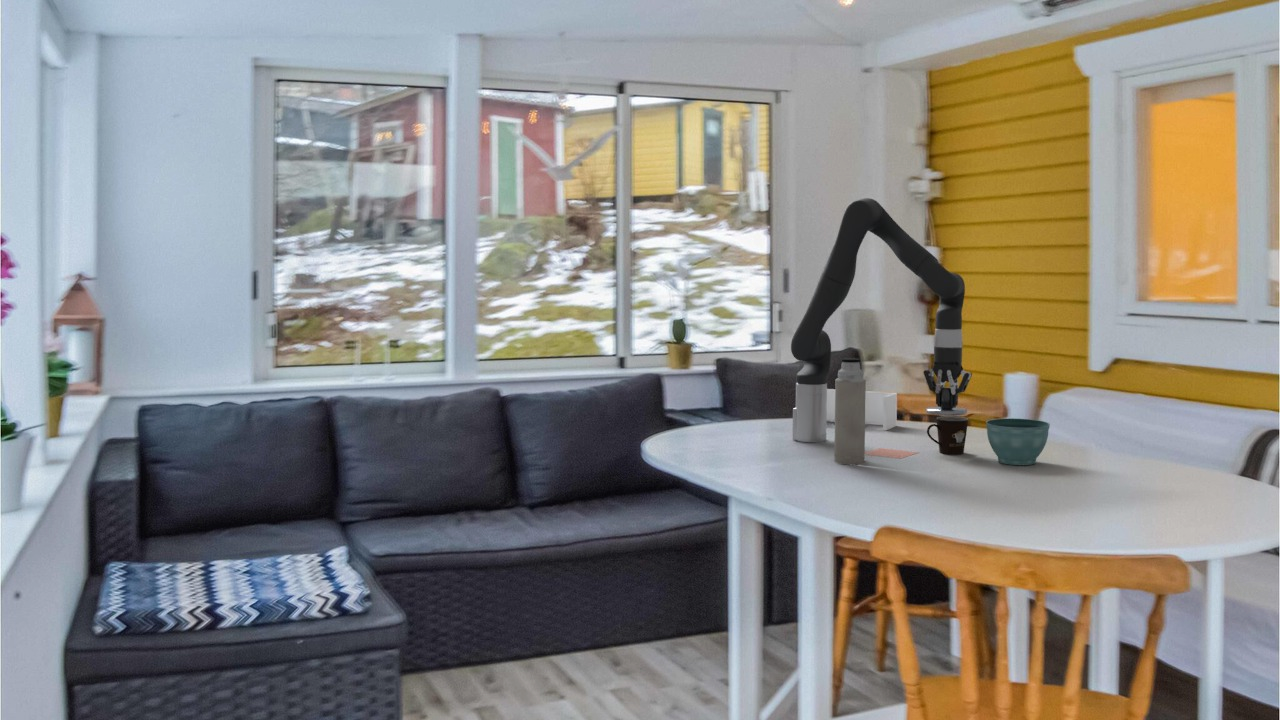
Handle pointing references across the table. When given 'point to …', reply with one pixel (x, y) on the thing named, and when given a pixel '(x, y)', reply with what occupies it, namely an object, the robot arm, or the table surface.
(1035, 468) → the table surface
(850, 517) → the table surface
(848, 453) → the thermos bottle
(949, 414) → the lid
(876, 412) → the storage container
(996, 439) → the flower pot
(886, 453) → the mat
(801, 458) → the table surface
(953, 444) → the coffee mug
